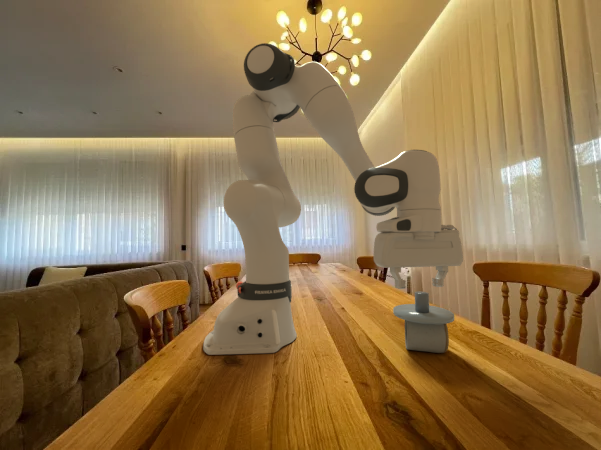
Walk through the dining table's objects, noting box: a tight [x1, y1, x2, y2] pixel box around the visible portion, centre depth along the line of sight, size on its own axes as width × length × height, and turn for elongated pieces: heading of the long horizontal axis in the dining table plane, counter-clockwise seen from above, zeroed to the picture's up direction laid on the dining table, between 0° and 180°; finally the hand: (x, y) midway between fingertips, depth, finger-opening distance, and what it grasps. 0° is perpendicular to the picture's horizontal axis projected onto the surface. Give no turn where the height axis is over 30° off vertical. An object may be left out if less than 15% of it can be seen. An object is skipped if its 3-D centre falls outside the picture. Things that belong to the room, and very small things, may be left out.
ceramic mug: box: [404, 320, 450, 354], centre depth 57 cm, size 11×8×8 cm
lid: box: [392, 291, 455, 325], centre depth 55 cm, size 12×12×5 cm
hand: (419, 287), depth 55 cm, fingers open, 8 cm apart
